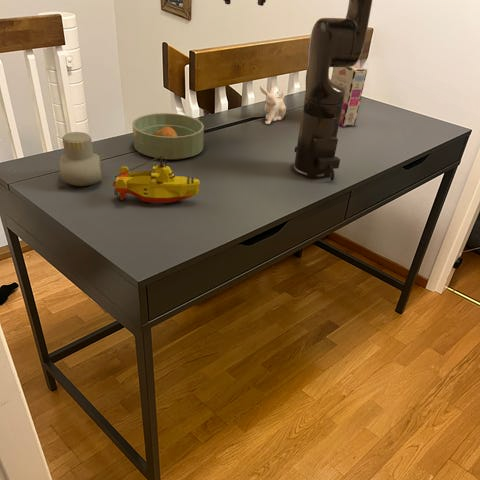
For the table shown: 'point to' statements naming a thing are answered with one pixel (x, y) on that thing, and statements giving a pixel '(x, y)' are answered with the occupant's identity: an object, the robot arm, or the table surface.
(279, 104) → the rabbit figurine
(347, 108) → the candy bar box
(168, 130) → the croissant
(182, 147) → the bowl
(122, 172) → the toy boat
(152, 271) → the table surface
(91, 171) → the air freshener
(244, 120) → the table surface
